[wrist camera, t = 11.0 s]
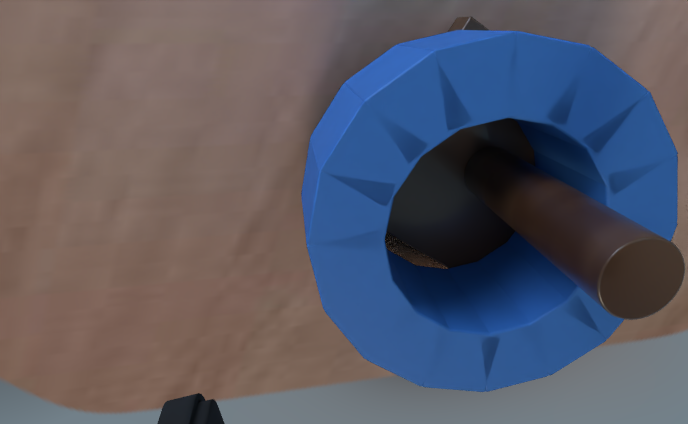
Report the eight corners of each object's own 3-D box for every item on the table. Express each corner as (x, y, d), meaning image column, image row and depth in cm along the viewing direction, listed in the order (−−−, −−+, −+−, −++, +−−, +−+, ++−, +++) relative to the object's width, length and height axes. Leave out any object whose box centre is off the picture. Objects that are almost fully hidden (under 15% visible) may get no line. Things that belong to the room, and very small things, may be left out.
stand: (457, 16, 19) (637, 6, 10) (610, 130, 21) (888, 219, 12) (339, 195, 21) (388, 342, 11) (492, 285, 23) (645, 474, 13)
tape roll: (415, -36, 17) (462, -57, 13) (647, 139, 20) (752, 171, 16) (248, 236, 20) (238, 298, 15) (476, 356, 23) (524, 438, 18)
